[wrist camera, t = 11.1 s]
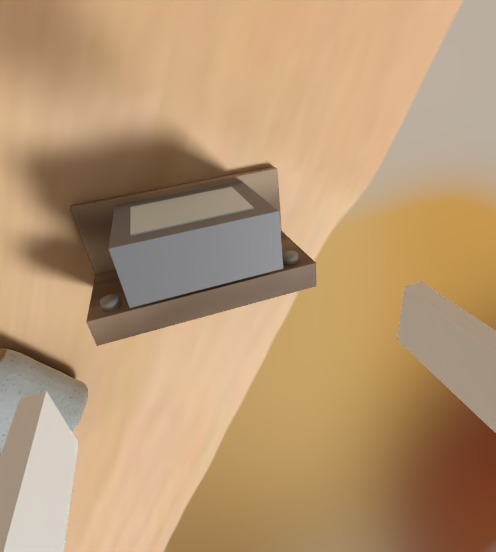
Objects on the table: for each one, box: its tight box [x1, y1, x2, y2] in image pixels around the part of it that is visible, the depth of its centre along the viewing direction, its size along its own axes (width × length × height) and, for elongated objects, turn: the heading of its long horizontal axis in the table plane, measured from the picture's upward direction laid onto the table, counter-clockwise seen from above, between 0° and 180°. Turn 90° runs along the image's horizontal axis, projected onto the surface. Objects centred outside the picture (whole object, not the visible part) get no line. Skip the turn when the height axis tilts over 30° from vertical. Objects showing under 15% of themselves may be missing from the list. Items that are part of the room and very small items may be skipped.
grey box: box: [109, 182, 283, 308], centre depth 24 cm, size 4×10×8 cm, turn 97°
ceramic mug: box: [0, 348, 88, 455], centre depth 28 cm, size 11×8×8 cm
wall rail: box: [70, 167, 316, 346], centre depth 25 cm, size 8×16×8 cm, turn 97°
